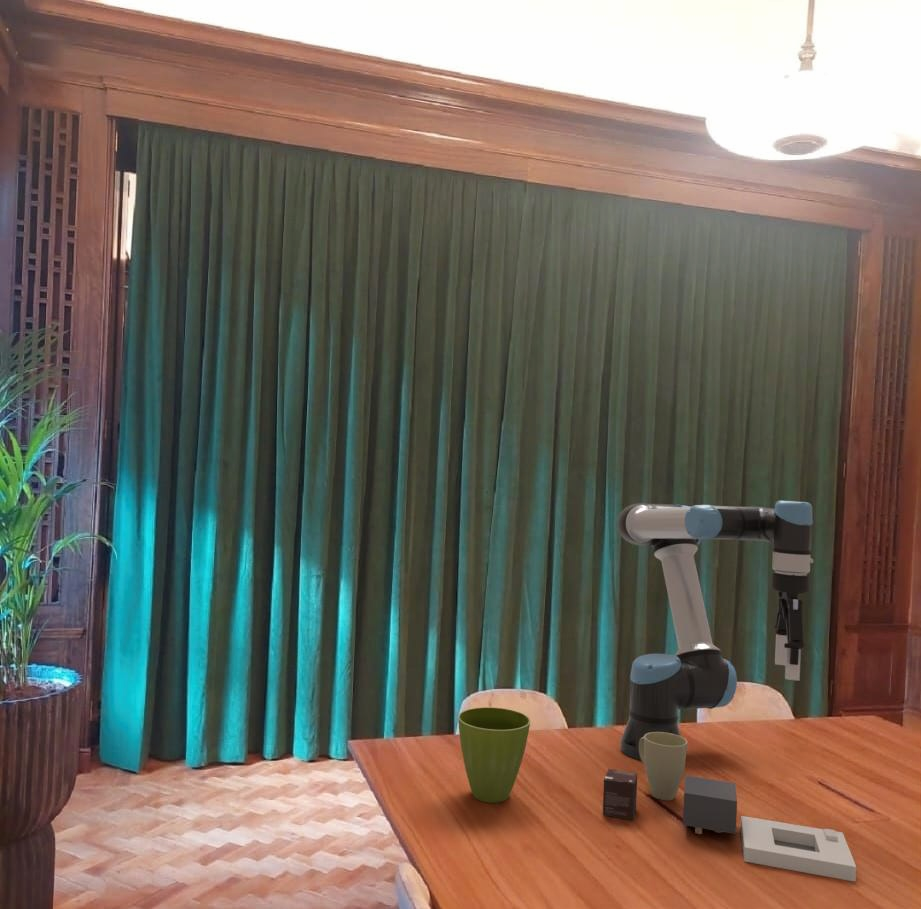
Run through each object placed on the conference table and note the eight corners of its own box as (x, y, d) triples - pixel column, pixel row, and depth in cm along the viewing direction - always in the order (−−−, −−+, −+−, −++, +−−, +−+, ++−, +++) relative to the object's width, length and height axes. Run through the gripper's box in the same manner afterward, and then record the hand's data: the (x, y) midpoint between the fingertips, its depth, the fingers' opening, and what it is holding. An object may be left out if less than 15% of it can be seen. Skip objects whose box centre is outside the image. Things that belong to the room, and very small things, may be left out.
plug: (682, 835, 150) (684, 792, 150) (683, 815, 159) (685, 775, 159) (735, 844, 147) (737, 801, 147) (733, 823, 156) (735, 783, 157)
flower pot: (504, 818, 154) (508, 735, 154) (440, 798, 162) (444, 719, 162) (538, 793, 166) (542, 717, 167) (477, 776, 174) (481, 703, 175)
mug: (688, 791, 172) (691, 735, 172) (681, 808, 163) (683, 749, 163) (638, 780, 176) (640, 726, 177) (627, 796, 167) (630, 739, 168)
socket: (744, 861, 141) (744, 842, 141) (740, 828, 154) (741, 811, 154) (855, 881, 136) (856, 862, 136) (842, 846, 149) (842, 828, 149)
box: (636, 809, 161) (638, 773, 161) (633, 821, 155) (634, 783, 155) (606, 804, 163) (608, 768, 163) (601, 815, 157) (603, 778, 157)
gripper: (822, 581, 158) (817, 688, 158) (799, 568, 182) (795, 660, 182) (781, 578, 160) (777, 684, 159) (764, 565, 184) (760, 657, 184)
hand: (786, 672), depth 171 cm, fingers open, 13 cm apart
